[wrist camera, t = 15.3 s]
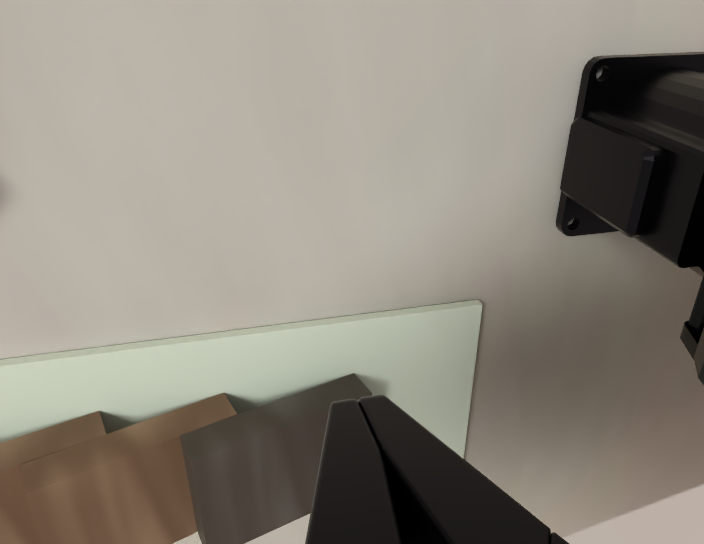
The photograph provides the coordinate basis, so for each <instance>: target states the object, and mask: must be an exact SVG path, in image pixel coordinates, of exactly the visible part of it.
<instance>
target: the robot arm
mask: <svg viewBox="0 0 704 544" xmlns="http://www.w3.org/2000/svg"><path fill="white" fill-rule="evenodd" d="M601 66H602V67H603V72H602V74H601V76H600V77H599V78H597V79H596V72H597V70H598V69H599V68H600V67H601ZM560 189H561V190H562V191H561V196H560V202H559V207H558V213H557V219H556V226H557V228H558V230H560V231H561V232H562V233H563V234H565V235H567V236H577V235H586V234H596V233H605V232H615V231H620V232H622V233H623V234H625V235H626V236H628V237H634V238H636V239H637V240H639V241H640V242H642V243H643V244H645V245H646V246H648V247H649V248H651V249H652V250H654V251H656V252H657V253H659V254H660V255H662V256H663V257H665V258H666V259H668V260H669V261H671V262H672V263H674V264H675V265H677V266H678V267H681V268H688V267H689V268H690V269H692V270H694V271H695V272H697V273H698V274H700V275H701V276H703V279H702V282H701V285H700V288H699V291H698V294H697V297H696V300H695V304H694V307H693V310H692V313H691V316H690V319H689V321H686V322H685V323H684V326H683V329H682V332H681V336H680V338H681V340H682V342H683V343H684V345H685V347H686V348H687V350H688V351H689V353H690V355H691V356H692V358H693V359H694V361H695V365H696V370H697V374H698V378H699V379H700V381H701V382H702V383H703V385H704V52H688V53H663V54H638V55H612V56H597V57H593V58H592V59H591V60H589V61H588V62H587V64H586V65H585V67H584V70H583V73H582V79H581V84H580V90H579V96H578V101H577V107H576V112H575V118H574V122H573V123H572V125H571V130H570V135H569V141H568V147H567V152H566V158H565V164H564V169H563V175H562V181H561V186H560ZM573 218H574V220H573V223H572V224H570V225H569V226H567V224H568V222H569V221H570V220H571V219H573ZM305 544H569V543H568V542H566V541H565V540H564V539H563V538H561V537H560V536H559V535H558V534H556V533H554V532H553V533H551V530H550V528H549V527H547V526H546V525H545V524H544V523H542V522H541V521H540V520H539V519H537V518H536V517H535V516H534V515H532V514H531V513H530V512H529V511H528V510H526V509H525V508H524V507H523V506H521V505H520V504H519V503H518V502H516V501H515V500H514V499H513V498H511V497H510V496H509V495H508V494H506V493H505V492H504V491H503V490H501V489H500V488H499V487H498V486H497V485H495V484H494V483H493V482H492V481H490V480H489V479H488V478H487V477H485V476H484V475H483V474H482V473H480V472H479V471H478V470H477V469H475V468H474V467H473V466H472V465H471V464H469V463H468V462H467V461H466V460H464V459H463V458H462V457H461V456H459V455H458V454H457V453H456V452H454V451H453V450H452V449H451V448H449V447H448V446H447V445H446V444H444V443H443V442H442V441H441V440H440V439H438V438H437V437H436V436H435V435H433V434H432V433H431V432H430V431H428V430H427V429H426V428H425V427H423V426H422V425H421V424H420V423H418V422H417V421H416V420H415V419H413V418H412V417H411V416H410V415H409V414H407V413H406V412H405V411H404V410H402V409H401V408H400V407H399V406H397V405H396V404H395V403H394V402H392V401H391V400H390V399H389V398H387V397H386V396H384V395H373V396H366V397H361V398H360V399H359V400H358V401H357V400H355V399H347V400H340V401H334V402H332V403H331V405H330V408H329V414H328V419H327V425H326V431H325V436H324V442H323V447H322V453H321V458H320V464H319V470H318V475H317V481H316V486H315V492H314V498H313V503H312V509H311V514H310V520H309V526H308V531H307V537H306V542H305Z"/></svg>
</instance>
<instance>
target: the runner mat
mask: <svg viewBox="0 0 704 544" xmlns="http://www.w3.org/2000/svg"><path fill="white" fill-rule="evenodd" d="M481 313H482V303H481V302H480V301H479V300H471V301H463V302H455V303H447V304H439V305H431V306H423V307H415V308H408V309H400V310H392V311H384V312H376V313H368V314H360V315H352V316H344V317H336V318H328V319H320V320H312V321H304V322H296V323H288V324H280V325H272V326H264V327H256V328H248V329H240V330H232V331H224V332H216V333H208V334H200V335H192V336H184V337H176V338H169V339H161V340H153V341H145V342H137V343H129V344H121V345H113V346H105V347H97V348H89V349H81V350H73V351H65V352H57V353H49V354H41V355H33V356H25V357H17V358H9V359H1V360H0V443H2V442H5V441H8V440H11V439H14V438H17V437H20V436H23V435H26V434H29V433H32V432H35V431H38V430H42V429H45V428H48V427H51V426H54V425H57V424H60V423H63V422H66V421H69V420H72V419H75V418H78V417H81V416H84V415H87V414H90V413H94V412H97V411H99V412H100V415H101V418H102V421H103V425H104V428H105V431H106V434H109V433H111V432H114V431H117V430H120V429H123V428H125V427H128V426H131V425H134V424H137V423H140V422H142V421H145V420H148V419H151V418H154V417H156V416H159V415H162V414H165V413H168V412H170V411H173V410H176V409H179V408H182V407H184V406H187V405H190V404H193V403H196V402H199V401H201V400H204V399H207V398H210V397H213V396H215V395H218V394H221V393H224V394H225V395H226V397H227V398H228V400H229V402H230V403H231V405H232V406H233V408H234V409H235V411H236V413H237V415H238V414H241V413H243V412H246V411H249V410H252V409H255V408H257V407H260V406H263V405H266V404H269V403H271V402H274V401H277V400H280V399H283V398H285V397H288V396H291V395H294V394H297V393H300V392H302V391H305V390H308V389H311V388H314V387H316V386H319V385H322V384H325V383H328V382H330V381H333V380H336V379H339V378H342V377H344V376H347V375H350V374H353V373H354V374H355V375H356V376H357V377H358V378H359V379H360V380H361V381H362V382H363V383H364V385H365V386H366V387H367V388H368V389H369V390H370V391H371V392H372V396H373V395H384V396H386V397H387V398H389V399H390V400H391V401H392V402H394V403H395V404H396V405H397V406H399V407H400V408H401V409H402V410H404V411H405V412H406V413H407V414H409V415H410V416H411V417H412V418H413V419H415V420H416V421H417V422H418V423H420V424H421V425H422V426H423V427H425V428H426V429H427V430H428V431H430V432H431V433H432V434H433V435H435V436H436V437H437V438H438V439H440V440H441V441H442V442H443V443H444V444H446V445H447V446H448V447H449V448H451V449H452V450H453V451H454V452H456V453H457V454H458V455H459V456H461V457H462V458H463V459H464V451H465V443H466V435H467V426H468V418H469V410H470V402H471V394H472V386H473V378H474V370H475V362H476V354H477V346H478V337H479V329H480V321H481ZM196 533H198V532H196ZM196 533H194V534H196Z"/></svg>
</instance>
